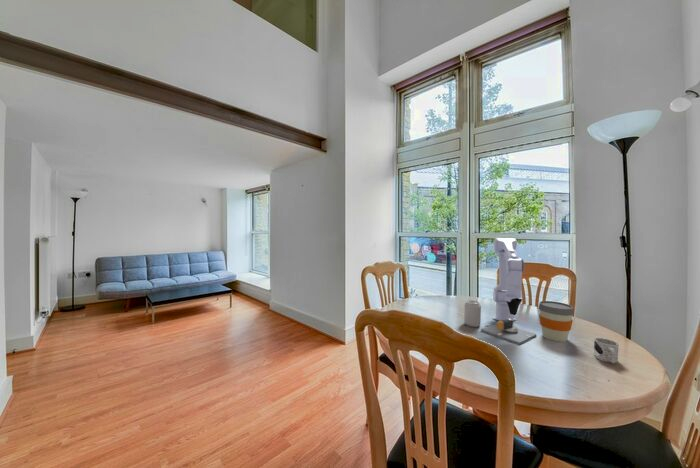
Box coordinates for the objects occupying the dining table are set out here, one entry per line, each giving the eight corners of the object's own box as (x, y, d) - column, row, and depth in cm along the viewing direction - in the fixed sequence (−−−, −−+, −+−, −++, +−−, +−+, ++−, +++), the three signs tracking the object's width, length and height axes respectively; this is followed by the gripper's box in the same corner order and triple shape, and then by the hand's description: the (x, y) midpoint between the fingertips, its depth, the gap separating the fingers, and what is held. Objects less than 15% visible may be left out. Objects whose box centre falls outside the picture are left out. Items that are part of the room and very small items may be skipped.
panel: (498, 324, 135) (498, 321, 135) (536, 336, 121) (536, 333, 121) (481, 331, 126) (481, 328, 126) (519, 345, 112) (519, 342, 112)
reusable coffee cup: (573, 337, 120) (574, 304, 119) (571, 346, 111) (573, 311, 110) (539, 329, 129) (540, 299, 128) (535, 337, 119) (536, 304, 119)
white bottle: (477, 322, 137) (477, 299, 137) (482, 328, 130) (483, 304, 130) (462, 321, 138) (462, 299, 138) (467, 327, 131) (467, 303, 130)
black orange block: (506, 326, 129) (507, 315, 129) (521, 331, 123) (521, 320, 123) (492, 329, 125) (492, 318, 125) (506, 335, 119) (506, 323, 118)
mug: (590, 352, 105) (591, 336, 105) (612, 356, 103) (613, 339, 102) (601, 364, 96) (602, 347, 96) (626, 369, 94) (627, 351, 93)
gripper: (510, 281, 127) (509, 308, 128) (497, 285, 118) (497, 315, 119) (527, 283, 122) (526, 312, 122) (515, 288, 113) (514, 319, 113)
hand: (513, 314), depth 120 cm, fingers closed
